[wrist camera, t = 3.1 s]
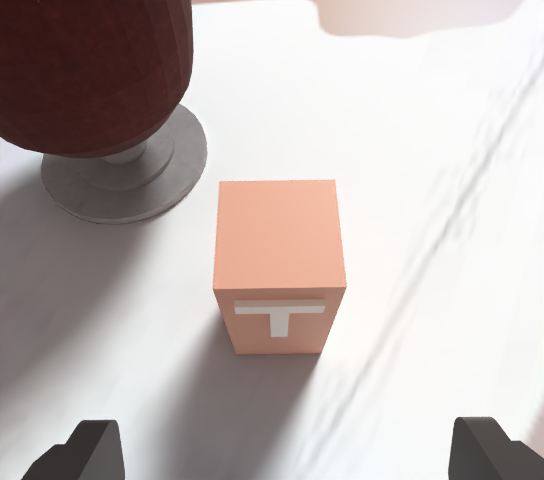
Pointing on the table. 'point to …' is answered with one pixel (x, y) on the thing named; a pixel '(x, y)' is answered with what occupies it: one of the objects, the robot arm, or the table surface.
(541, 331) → the table surface
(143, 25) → the mate gourd
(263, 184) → the terracotta block
